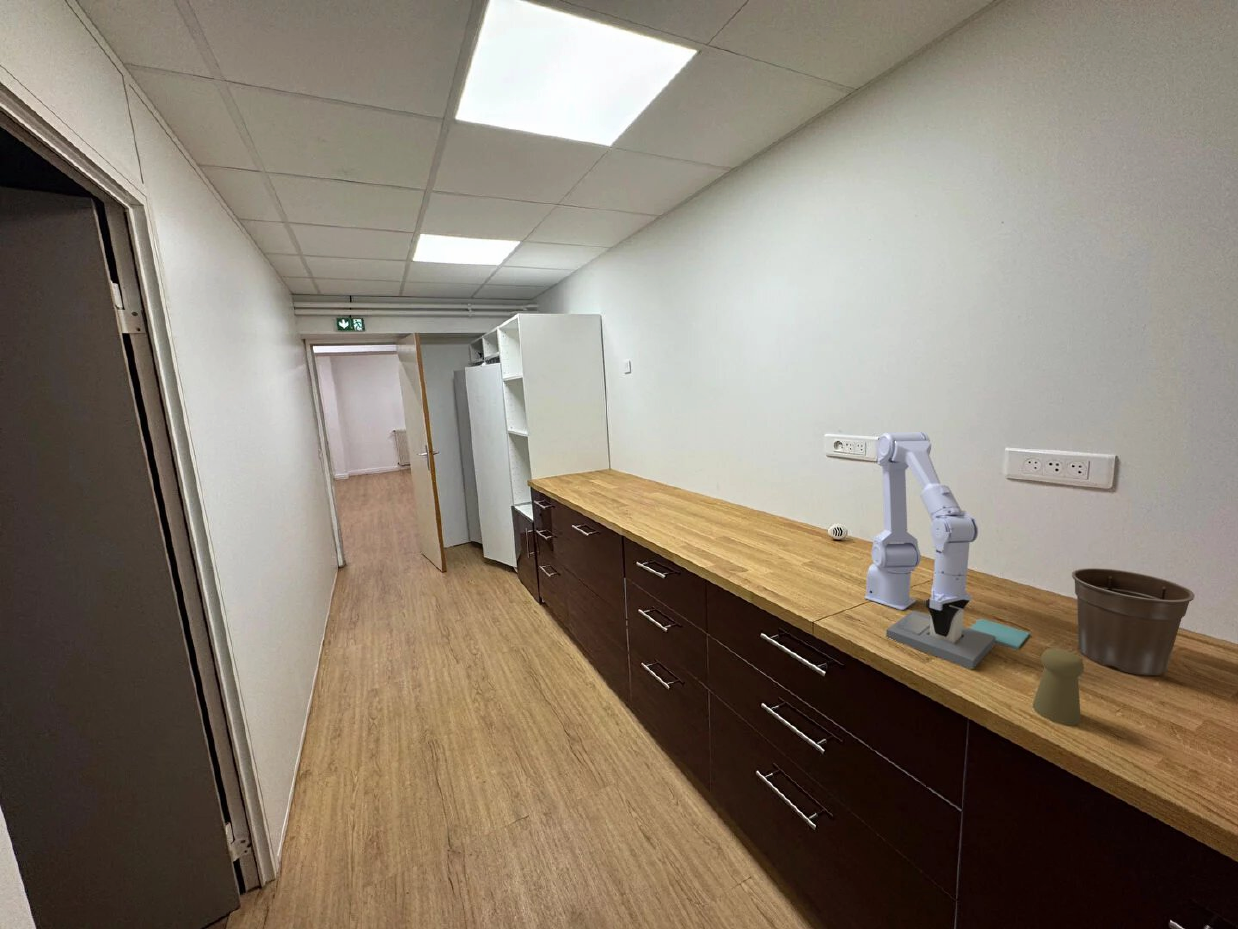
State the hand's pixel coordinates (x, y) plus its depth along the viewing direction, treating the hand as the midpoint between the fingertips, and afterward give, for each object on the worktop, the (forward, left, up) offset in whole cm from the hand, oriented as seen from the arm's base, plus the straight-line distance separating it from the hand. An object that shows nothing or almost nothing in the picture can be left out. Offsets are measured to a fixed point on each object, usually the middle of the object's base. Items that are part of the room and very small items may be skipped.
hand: (945, 630), depth 101 cm
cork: (+20, -11, -3) cm, 23 cm away
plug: (0, 0, -3) cm, 3 cm away
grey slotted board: (-1, 0, -3) cm, 3 cm away
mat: (+6, +13, -3) cm, 15 cm away
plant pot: (+24, +19, -3) cm, 31 cm away
